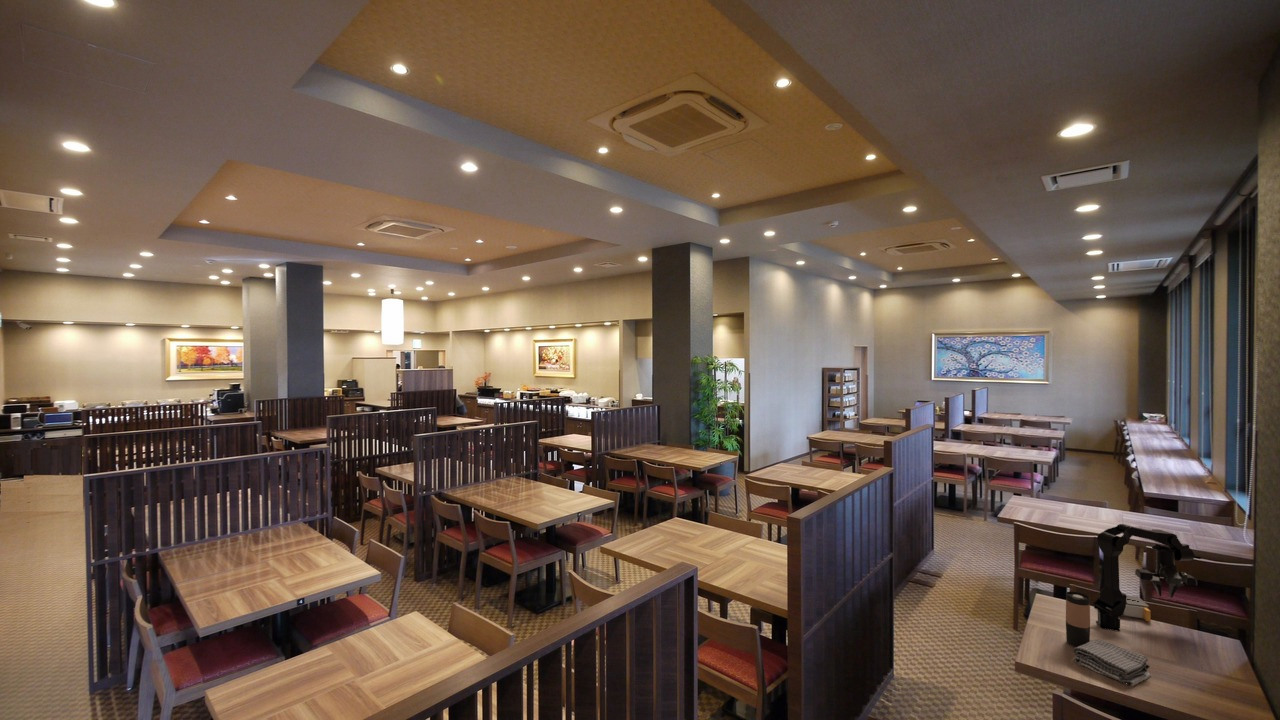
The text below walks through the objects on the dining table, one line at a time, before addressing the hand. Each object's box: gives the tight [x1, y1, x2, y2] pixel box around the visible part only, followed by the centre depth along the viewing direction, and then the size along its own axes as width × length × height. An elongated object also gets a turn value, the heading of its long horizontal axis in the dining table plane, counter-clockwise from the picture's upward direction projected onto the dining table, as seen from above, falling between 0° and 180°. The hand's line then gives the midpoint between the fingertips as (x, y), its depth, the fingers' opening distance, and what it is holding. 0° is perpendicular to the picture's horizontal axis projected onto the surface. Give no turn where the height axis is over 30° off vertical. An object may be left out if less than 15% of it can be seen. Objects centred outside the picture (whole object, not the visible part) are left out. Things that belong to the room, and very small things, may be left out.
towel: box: [1072, 639, 1152, 687], centre depth 201 cm, size 15×18×8 cm
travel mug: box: [1065, 590, 1091, 648], centre depth 219 cm, size 8×8×20 cm
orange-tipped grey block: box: [1098, 594, 1150, 620], centre depth 247 cm, size 15×10×7 cm, turn 67°
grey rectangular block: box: [1123, 604, 1152, 622], centre depth 240 cm, size 8×4×5 cm, turn 67°
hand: (1165, 596), depth 235 cm, fingers open, 3 cm apart
